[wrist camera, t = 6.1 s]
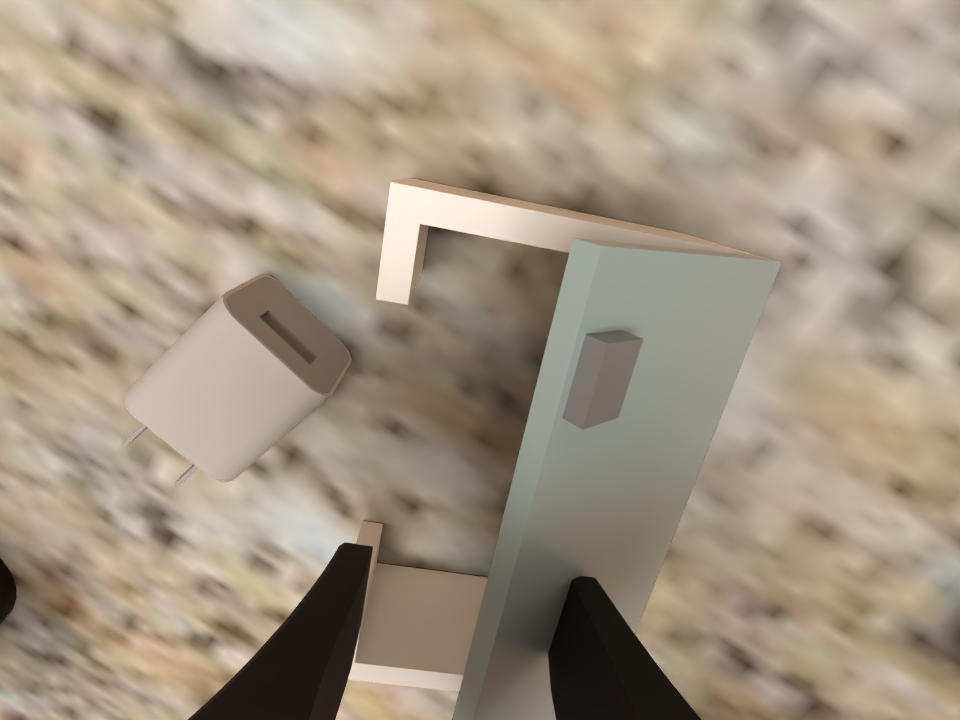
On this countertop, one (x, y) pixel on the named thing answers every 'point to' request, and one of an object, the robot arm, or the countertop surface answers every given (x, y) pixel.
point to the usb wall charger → (238, 379)
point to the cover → (608, 449)
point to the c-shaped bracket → (390, 589)
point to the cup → (6, 591)
